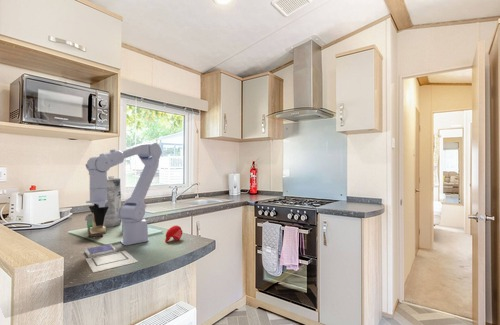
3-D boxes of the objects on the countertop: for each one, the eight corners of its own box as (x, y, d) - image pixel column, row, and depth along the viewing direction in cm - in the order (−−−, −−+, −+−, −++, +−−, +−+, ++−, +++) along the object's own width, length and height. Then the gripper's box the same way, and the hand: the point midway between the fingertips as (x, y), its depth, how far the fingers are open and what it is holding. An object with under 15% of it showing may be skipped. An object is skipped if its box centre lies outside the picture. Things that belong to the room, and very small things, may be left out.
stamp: (103, 231, 105) (103, 211, 105) (105, 233, 101) (105, 212, 102) (89, 233, 102) (89, 212, 102) (91, 236, 99) (91, 213, 99)
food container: (83, 235, 130) (82, 214, 130) (97, 232, 134) (97, 212, 134) (88, 240, 120) (87, 217, 121) (103, 237, 124) (103, 215, 125)
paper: (125, 251, 103) (125, 250, 103) (137, 262, 91) (137, 261, 91) (85, 259, 95) (85, 258, 95) (93, 272, 83) (93, 271, 83)
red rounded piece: (178, 229, 122) (166, 224, 119) (185, 226, 118) (173, 221, 115) (172, 247, 117) (160, 242, 114) (180, 244, 113) (167, 239, 110)
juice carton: (112, 227, 144) (111, 176, 144) (95, 227, 146) (94, 177, 147) (123, 223, 153) (122, 175, 153) (107, 223, 155) (106, 176, 155)
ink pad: (111, 247, 109) (111, 243, 109) (116, 252, 102) (116, 248, 102) (84, 252, 103) (84, 248, 103) (88, 258, 96) (88, 254, 96)
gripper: (83, 188, 106) (83, 223, 105) (89, 190, 94) (89, 229, 94) (103, 187, 110) (104, 221, 110) (111, 188, 99) (111, 226, 98)
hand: (98, 224), depth 102 cm, fingers closed on stamp, 3 cm apart
